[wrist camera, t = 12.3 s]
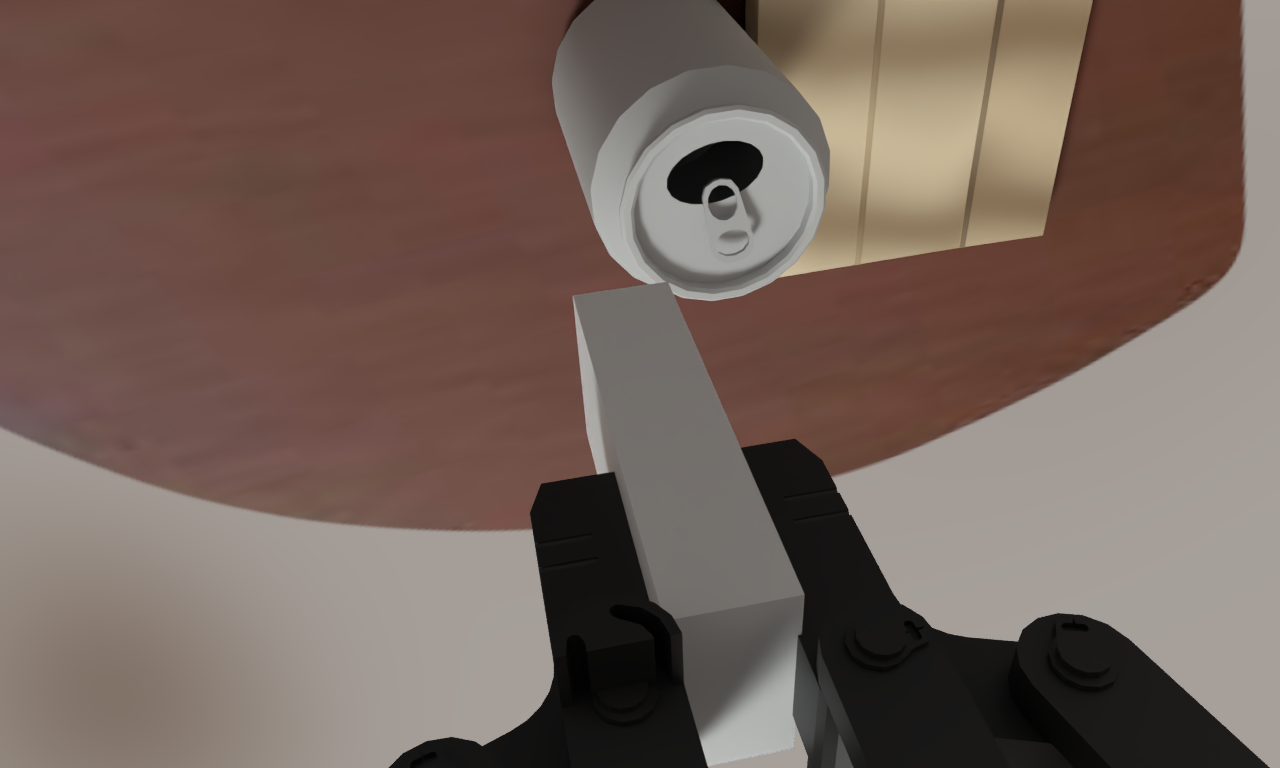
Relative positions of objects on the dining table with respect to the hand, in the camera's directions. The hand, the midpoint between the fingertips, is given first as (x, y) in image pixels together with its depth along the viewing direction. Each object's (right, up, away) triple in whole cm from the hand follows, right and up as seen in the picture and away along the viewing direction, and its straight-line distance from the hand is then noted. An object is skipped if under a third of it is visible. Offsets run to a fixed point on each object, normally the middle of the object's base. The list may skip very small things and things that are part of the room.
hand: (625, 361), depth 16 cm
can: (0, +12, +23) cm, 25 cm away
